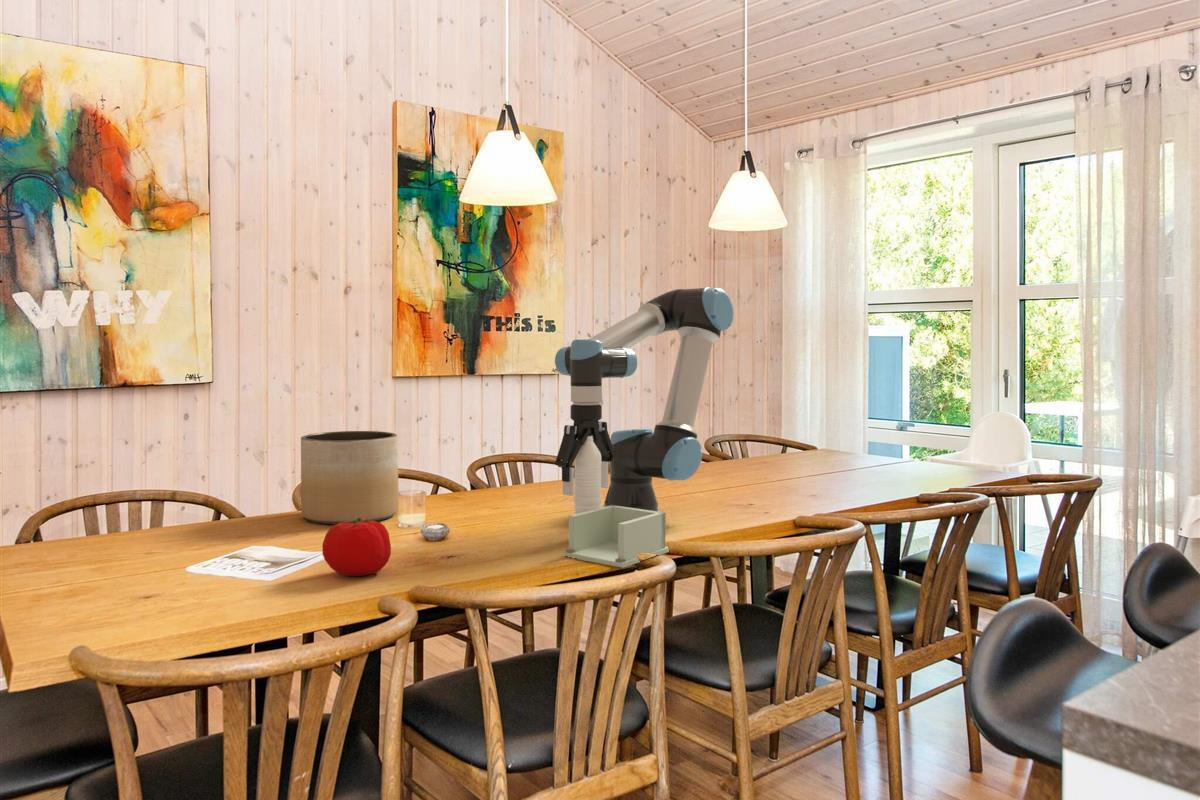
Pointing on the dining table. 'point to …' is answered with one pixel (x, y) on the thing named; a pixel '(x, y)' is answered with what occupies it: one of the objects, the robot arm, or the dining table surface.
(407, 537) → the dining table surface
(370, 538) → the tomato
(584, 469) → the water bottle
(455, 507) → the dining table surface
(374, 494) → the planter
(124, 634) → the dining table surface
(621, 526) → the u rest
